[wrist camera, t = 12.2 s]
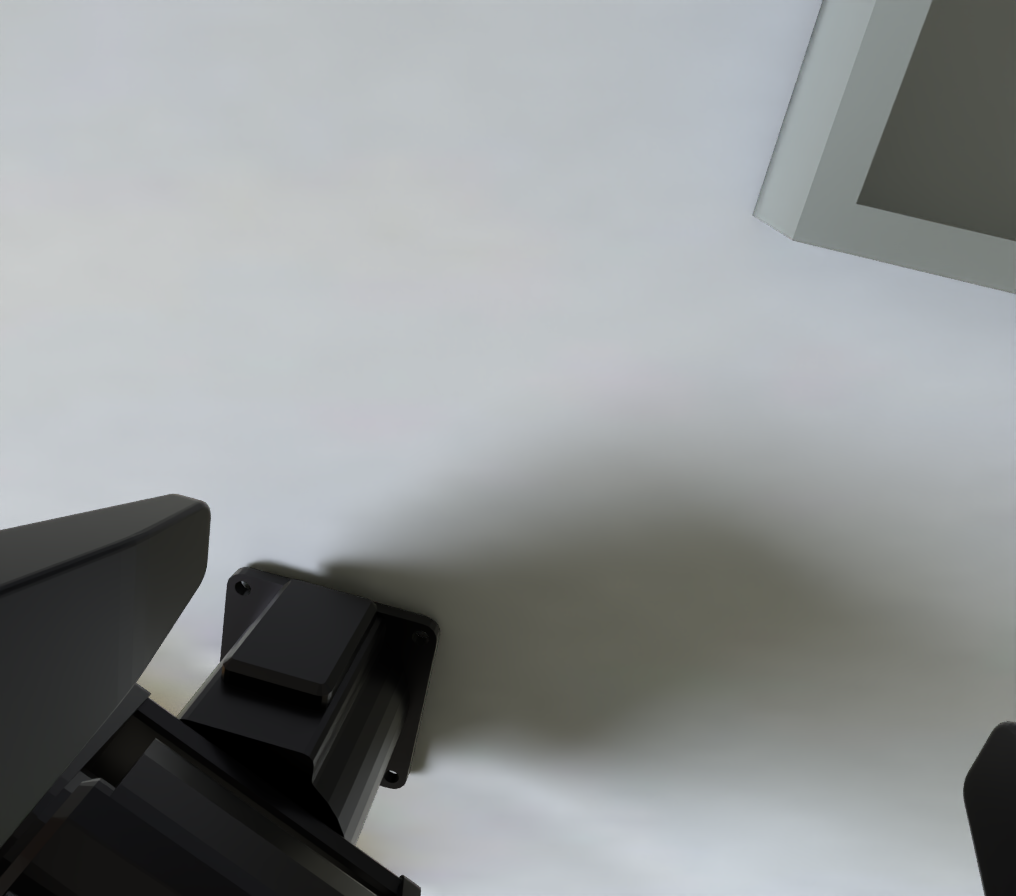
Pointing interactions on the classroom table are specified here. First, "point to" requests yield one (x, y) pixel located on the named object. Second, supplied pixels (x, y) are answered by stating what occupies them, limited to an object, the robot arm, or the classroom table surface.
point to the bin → (904, 138)
